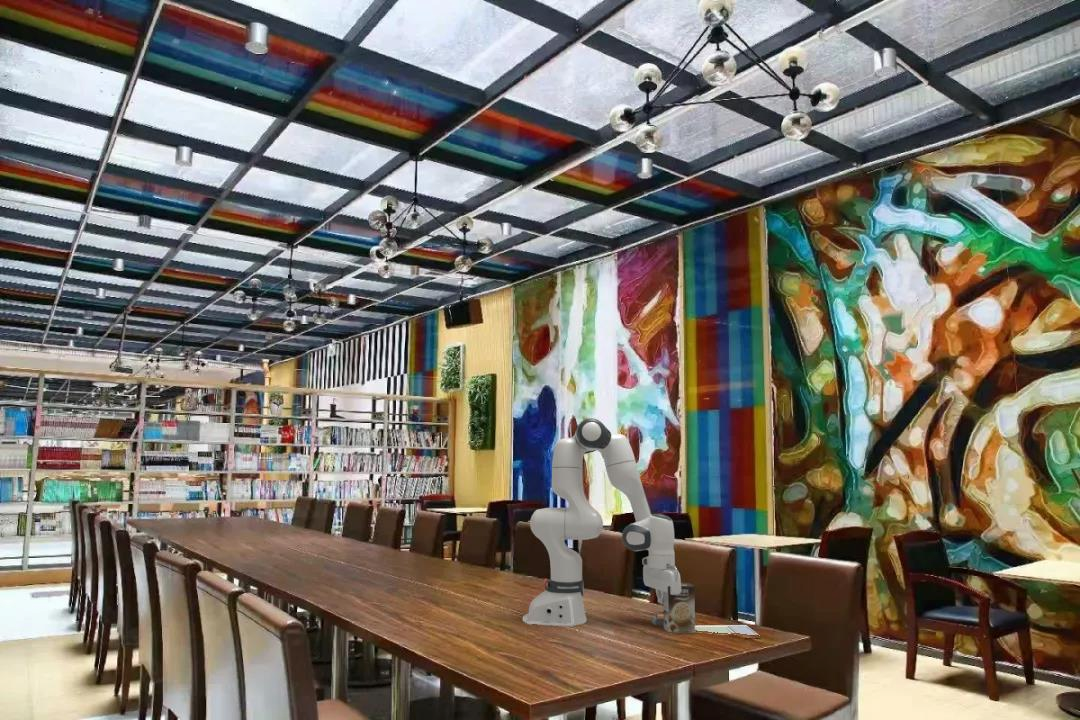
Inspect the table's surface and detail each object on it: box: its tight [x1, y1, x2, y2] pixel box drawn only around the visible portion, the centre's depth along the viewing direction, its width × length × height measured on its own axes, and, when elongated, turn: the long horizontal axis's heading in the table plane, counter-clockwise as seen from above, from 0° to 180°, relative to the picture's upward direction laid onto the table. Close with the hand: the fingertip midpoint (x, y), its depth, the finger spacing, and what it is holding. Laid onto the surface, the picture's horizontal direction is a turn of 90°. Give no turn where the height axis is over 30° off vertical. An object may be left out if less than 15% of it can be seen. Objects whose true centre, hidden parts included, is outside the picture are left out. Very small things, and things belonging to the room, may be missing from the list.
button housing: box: [651, 615, 664, 627], centre depth 255 cm, size 6×6×3 cm
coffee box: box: [663, 582, 696, 634], centre depth 246 cm, size 9×6×16 cm
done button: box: [656, 613, 664, 619], centre depth 255 cm, size 3×3×2 cm
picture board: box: [695, 624, 759, 635], centre depth 246 cm, size 20×15×1 cm
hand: (662, 603), depth 251 cm, fingers closed
